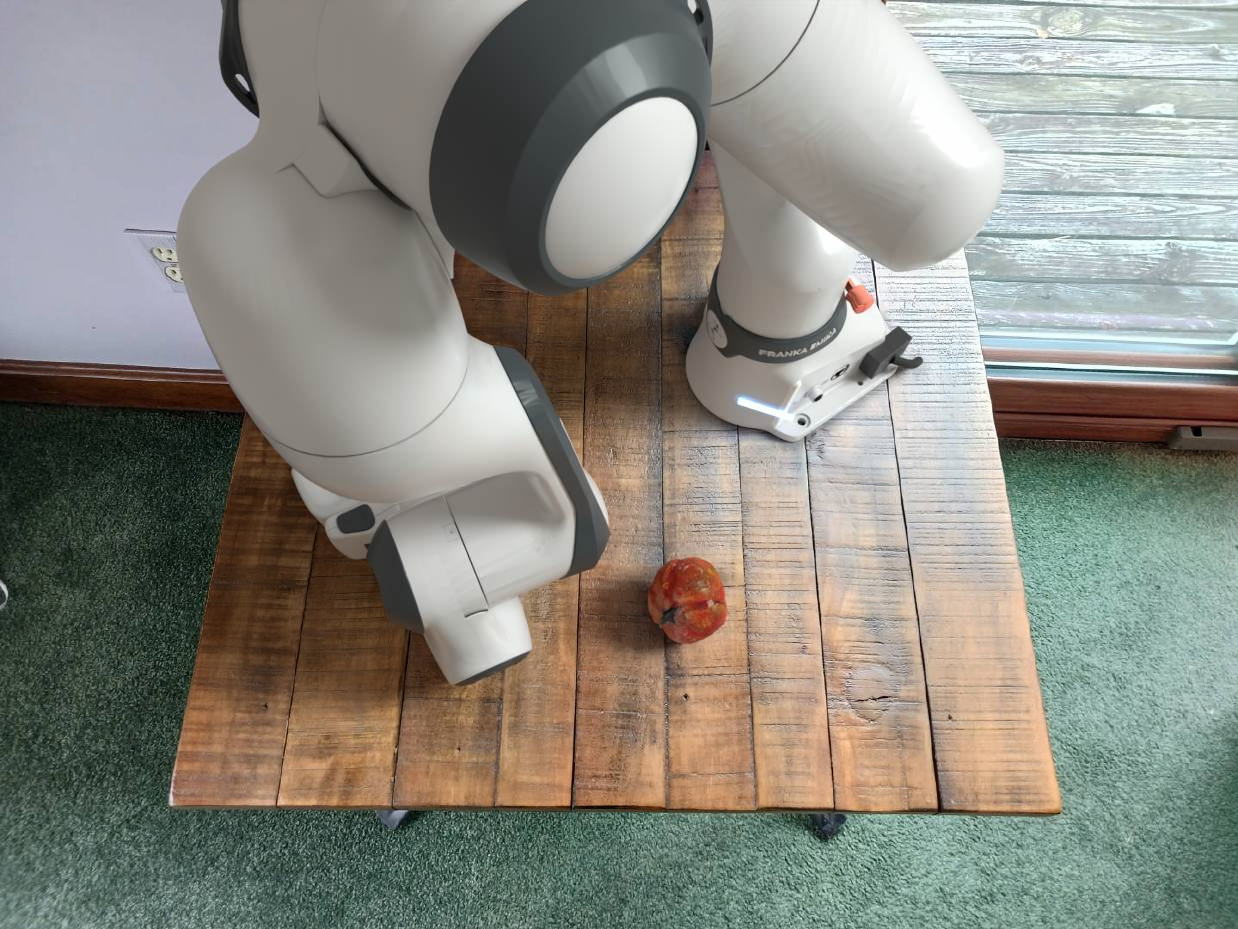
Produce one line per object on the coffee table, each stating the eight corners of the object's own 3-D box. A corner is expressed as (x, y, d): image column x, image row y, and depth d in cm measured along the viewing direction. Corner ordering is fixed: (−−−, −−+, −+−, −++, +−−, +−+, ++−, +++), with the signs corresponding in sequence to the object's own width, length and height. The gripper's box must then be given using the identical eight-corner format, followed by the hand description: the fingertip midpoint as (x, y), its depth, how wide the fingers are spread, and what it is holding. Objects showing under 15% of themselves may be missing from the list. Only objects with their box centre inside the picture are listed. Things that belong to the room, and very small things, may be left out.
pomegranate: (676, 566, 79) (608, 595, 72) (725, 530, 74) (659, 558, 67) (715, 633, 77) (651, 670, 70) (768, 600, 73) (705, 637, 65)
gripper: (533, 452, 72) (477, 332, 77) (309, 544, 68) (266, 412, 73) (539, 479, 78) (487, 366, 82) (333, 566, 74) (291, 442, 79)
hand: (381, 388), depth 78 cm, fingers closed
